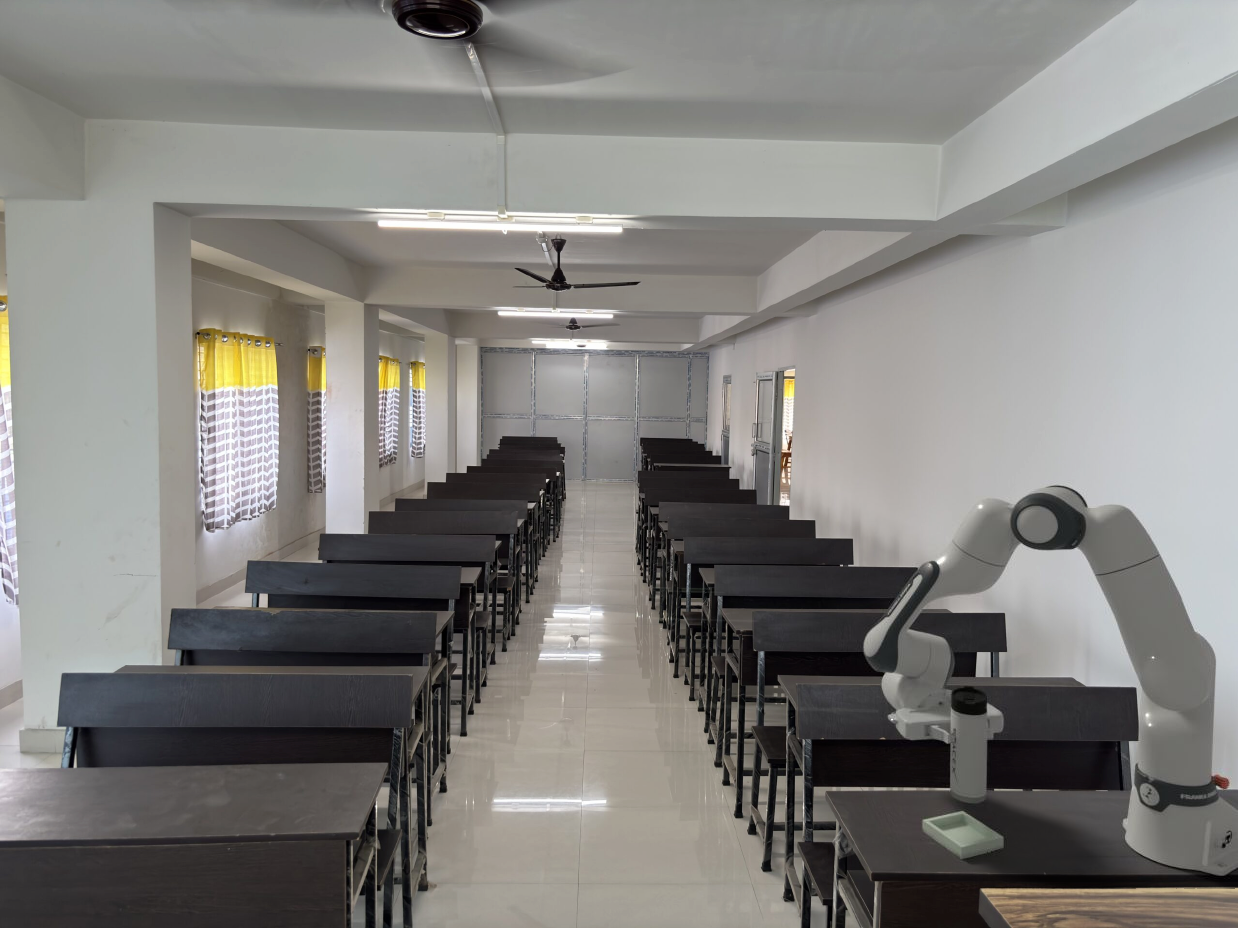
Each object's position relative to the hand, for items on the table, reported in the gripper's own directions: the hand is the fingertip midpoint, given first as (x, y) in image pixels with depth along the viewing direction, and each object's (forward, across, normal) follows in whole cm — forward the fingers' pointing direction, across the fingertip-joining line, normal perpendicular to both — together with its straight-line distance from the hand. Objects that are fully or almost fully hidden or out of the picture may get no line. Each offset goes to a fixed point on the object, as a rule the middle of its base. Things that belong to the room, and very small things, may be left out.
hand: (970, 737), depth 156 cm
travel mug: (-1, 0, +12) cm, 12 cm away
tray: (+1, -2, +19) cm, 19 cm away
